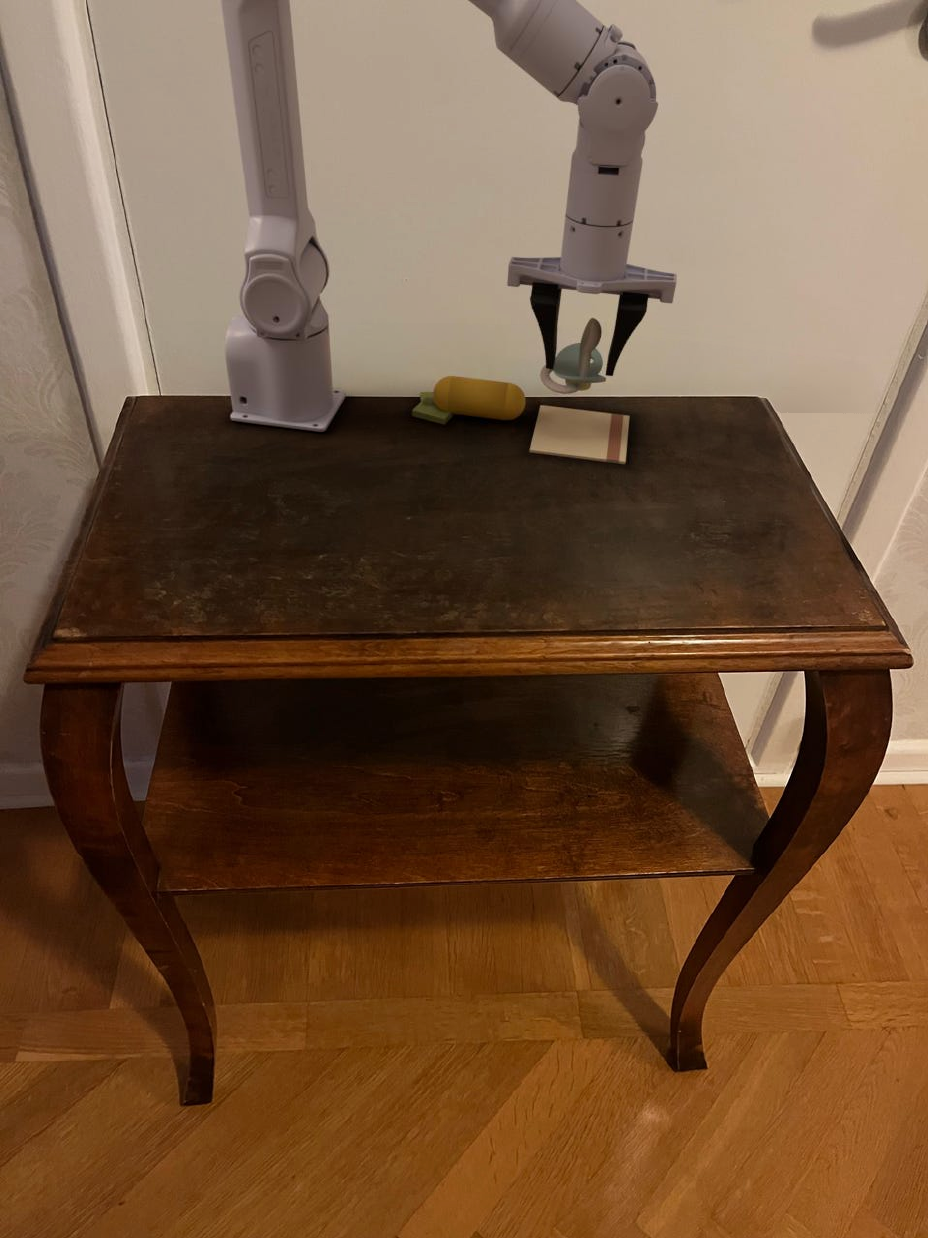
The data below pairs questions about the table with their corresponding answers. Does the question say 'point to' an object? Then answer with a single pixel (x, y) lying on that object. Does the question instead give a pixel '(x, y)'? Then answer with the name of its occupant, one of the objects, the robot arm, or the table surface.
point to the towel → (581, 434)
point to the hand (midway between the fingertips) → (579, 367)
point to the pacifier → (577, 363)
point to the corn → (470, 400)
